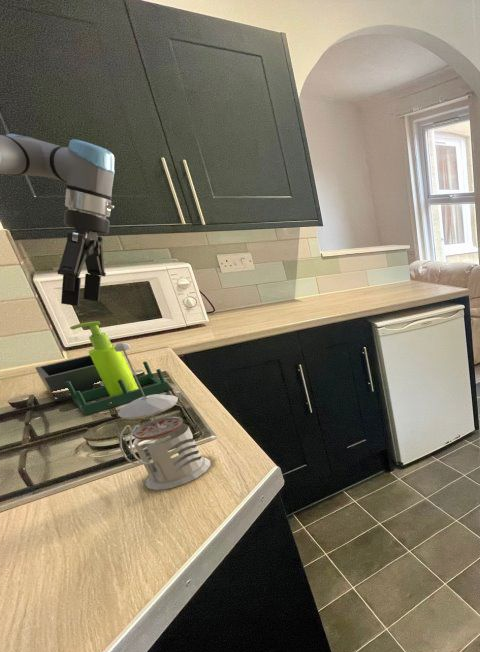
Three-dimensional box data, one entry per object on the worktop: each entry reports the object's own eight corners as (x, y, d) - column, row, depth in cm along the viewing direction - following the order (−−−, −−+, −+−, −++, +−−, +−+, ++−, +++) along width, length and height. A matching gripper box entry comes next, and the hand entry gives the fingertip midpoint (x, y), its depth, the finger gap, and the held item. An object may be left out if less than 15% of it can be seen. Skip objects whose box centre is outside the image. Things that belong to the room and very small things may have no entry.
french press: (222, 456, 81) (173, 332, 70) (177, 496, 70) (112, 356, 60) (173, 458, 81) (117, 334, 71) (121, 497, 71) (46, 358, 60)
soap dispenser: (105, 397, 110) (69, 323, 101) (139, 389, 114) (106, 317, 106) (107, 404, 106) (69, 327, 98) (141, 395, 110) (108, 321, 102)
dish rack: (86, 415, 100) (74, 393, 98) (74, 403, 107) (63, 382, 105) (170, 389, 113) (161, 369, 110) (155, 380, 119) (146, 360, 117)
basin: (57, 402, 108) (44, 377, 105) (47, 390, 116) (34, 367, 113) (134, 381, 120) (124, 358, 117) (121, 371, 127) (111, 350, 125)
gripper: (90, 213, 90) (83, 310, 94) (124, 222, 111) (117, 301, 115) (41, 201, 87) (35, 303, 90) (85, 213, 107) (79, 295, 111)
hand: (81, 302), depth 102 cm, fingers open, 13 cm apart
